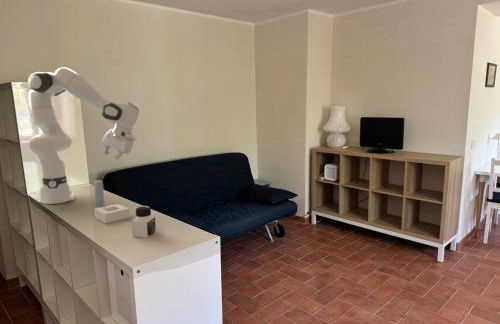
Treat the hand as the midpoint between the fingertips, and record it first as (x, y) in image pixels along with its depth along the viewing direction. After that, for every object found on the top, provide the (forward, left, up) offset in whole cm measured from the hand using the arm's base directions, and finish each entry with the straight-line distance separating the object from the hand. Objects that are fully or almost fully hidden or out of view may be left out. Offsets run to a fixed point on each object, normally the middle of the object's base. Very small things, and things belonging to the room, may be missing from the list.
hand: (110, 156), depth 182 cm
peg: (+7, -6, -27) cm, 29 cm away
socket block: (+19, 0, -27) cm, 34 cm away
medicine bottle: (+48, +15, -28) cm, 57 cm away
